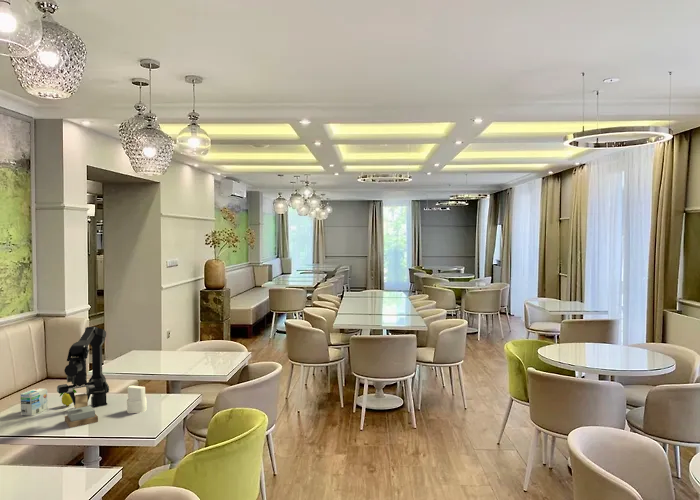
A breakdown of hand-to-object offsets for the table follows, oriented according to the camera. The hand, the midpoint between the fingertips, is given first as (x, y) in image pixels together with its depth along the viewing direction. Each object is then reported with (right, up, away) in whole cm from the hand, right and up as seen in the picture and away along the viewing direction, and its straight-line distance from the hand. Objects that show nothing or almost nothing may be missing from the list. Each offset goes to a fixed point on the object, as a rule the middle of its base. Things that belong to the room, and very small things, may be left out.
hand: (80, 403), depth 246 cm
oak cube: (0, -1, 0) cm, 1 cm away
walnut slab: (0, -9, 0) cm, 9 cm away
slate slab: (0, -6, 0) cm, 6 cm away
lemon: (-19, -9, +24) cm, 32 cm away
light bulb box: (-32, -9, +16) cm, 36 cm away
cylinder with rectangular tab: (+21, -8, +14) cm, 27 cm away
